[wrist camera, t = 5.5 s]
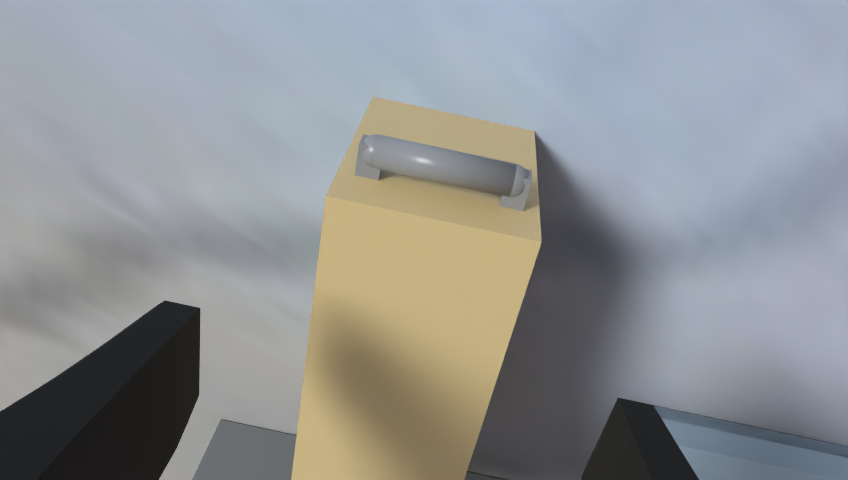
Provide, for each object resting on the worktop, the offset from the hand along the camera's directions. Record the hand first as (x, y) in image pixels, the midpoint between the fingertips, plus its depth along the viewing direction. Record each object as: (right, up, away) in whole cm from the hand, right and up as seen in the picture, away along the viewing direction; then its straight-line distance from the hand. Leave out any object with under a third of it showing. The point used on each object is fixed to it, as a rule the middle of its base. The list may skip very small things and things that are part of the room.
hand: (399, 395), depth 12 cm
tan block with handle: (0, +2, +9) cm, 9 cm away
